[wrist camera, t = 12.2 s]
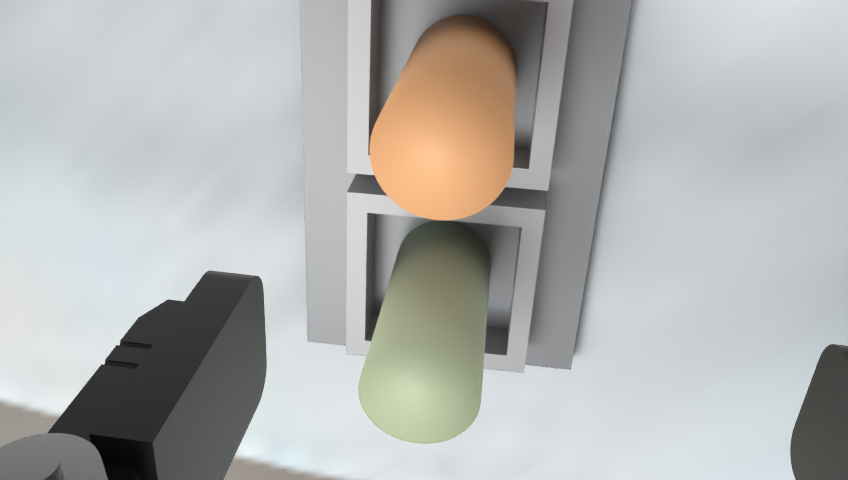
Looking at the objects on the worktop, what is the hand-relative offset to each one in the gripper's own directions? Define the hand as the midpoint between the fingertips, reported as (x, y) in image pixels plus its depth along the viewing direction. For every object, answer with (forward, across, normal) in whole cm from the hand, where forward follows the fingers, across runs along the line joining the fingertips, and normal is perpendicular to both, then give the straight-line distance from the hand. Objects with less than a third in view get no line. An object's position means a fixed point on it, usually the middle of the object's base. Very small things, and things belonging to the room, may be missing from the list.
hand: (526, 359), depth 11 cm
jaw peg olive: (+20, +2, +10) cm, 22 cm away
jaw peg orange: (+20, +2, +2) cm, 20 cm away
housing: (+21, +2, +6) cm, 22 cm away
